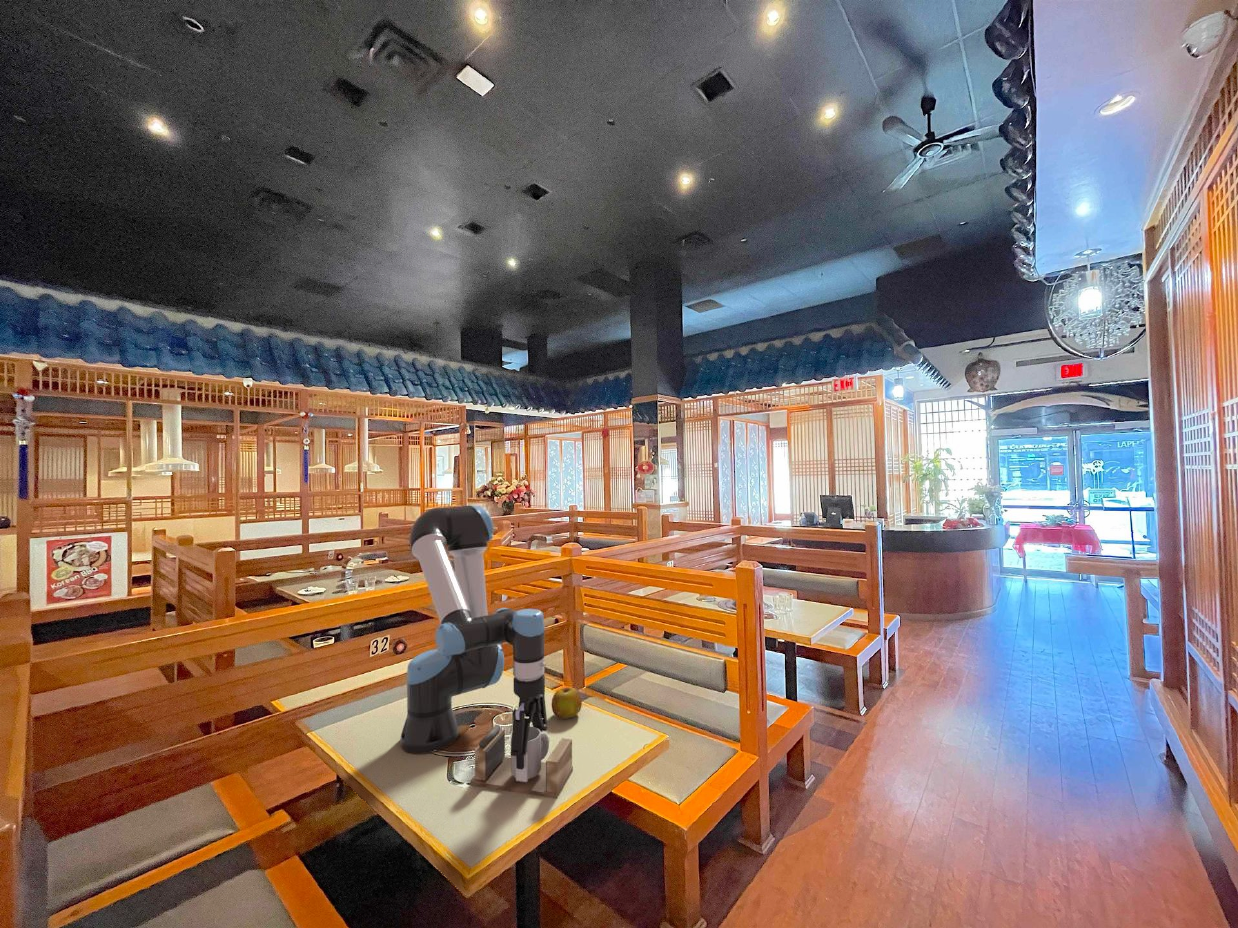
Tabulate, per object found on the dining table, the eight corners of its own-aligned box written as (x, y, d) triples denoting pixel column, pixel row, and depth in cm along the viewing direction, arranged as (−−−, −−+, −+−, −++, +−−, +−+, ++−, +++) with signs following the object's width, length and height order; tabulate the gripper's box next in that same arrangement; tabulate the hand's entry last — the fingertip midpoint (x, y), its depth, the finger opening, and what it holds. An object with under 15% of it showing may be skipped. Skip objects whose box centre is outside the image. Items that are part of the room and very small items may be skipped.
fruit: (562, 706, 160) (562, 680, 160) (587, 711, 156) (587, 685, 156) (545, 720, 151) (545, 693, 151) (571, 726, 147) (571, 698, 147)
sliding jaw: (475, 778, 120) (474, 742, 120) (495, 755, 130) (494, 722, 130) (486, 780, 120) (486, 744, 120) (505, 757, 129) (505, 723, 129)
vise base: (470, 784, 120) (469, 751, 120) (492, 759, 131) (492, 728, 131) (556, 798, 115) (556, 763, 115) (572, 770, 125) (572, 738, 126)
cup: (505, 770, 122) (505, 733, 122) (541, 754, 129) (540, 719, 129) (520, 784, 117) (519, 745, 117) (556, 767, 123) (556, 730, 123)
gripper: (524, 695, 111) (526, 798, 111) (559, 660, 132) (560, 747, 132) (493, 692, 113) (495, 794, 113) (532, 658, 134) (533, 743, 134)
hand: (530, 768), depth 122 cm, fingers closed on cup, 9 cm apart
